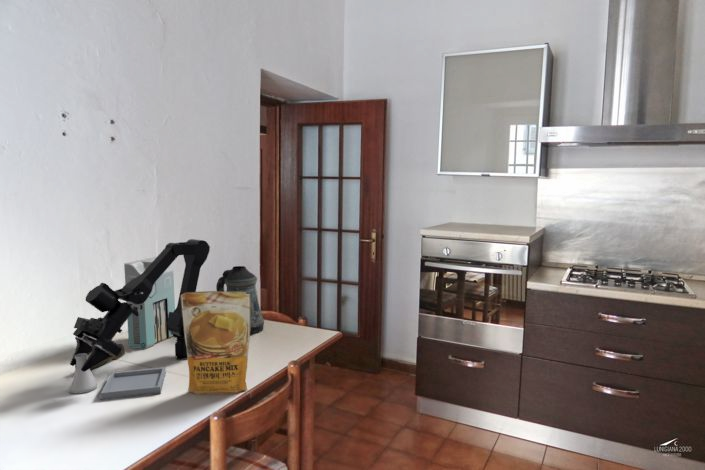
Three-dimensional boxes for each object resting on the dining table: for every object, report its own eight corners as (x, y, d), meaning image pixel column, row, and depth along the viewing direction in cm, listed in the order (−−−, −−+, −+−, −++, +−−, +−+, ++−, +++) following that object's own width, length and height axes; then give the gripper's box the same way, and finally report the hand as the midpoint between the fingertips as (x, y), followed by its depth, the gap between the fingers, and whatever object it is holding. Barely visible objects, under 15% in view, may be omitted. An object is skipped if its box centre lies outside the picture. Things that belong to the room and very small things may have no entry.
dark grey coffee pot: (259, 336, 189) (257, 271, 186) (208, 336, 189) (205, 271, 187) (267, 324, 206) (266, 263, 203) (220, 324, 206) (218, 263, 203)
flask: (76, 384, 146) (73, 351, 145) (101, 383, 147) (99, 350, 146) (64, 395, 139) (61, 360, 138) (91, 393, 140) (88, 359, 138)
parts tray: (165, 373, 154) (165, 367, 153) (160, 393, 139) (160, 386, 139) (112, 379, 150) (111, 372, 150) (101, 400, 135) (100, 393, 135)
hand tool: (84, 376, 153) (83, 361, 152) (74, 374, 154) (73, 360, 153) (131, 356, 170) (130, 342, 170) (122, 354, 172) (121, 341, 171)
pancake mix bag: (187, 385, 145) (183, 289, 142) (254, 384, 145) (251, 289, 142) (180, 395, 138) (175, 295, 135) (250, 394, 139) (247, 294, 136)
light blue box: (146, 349, 176) (142, 264, 173) (128, 347, 178) (123, 263, 175) (176, 335, 191) (173, 257, 188) (159, 333, 194) (155, 256, 190)
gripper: (77, 301, 149) (39, 347, 142) (108, 310, 137) (68, 361, 130) (106, 320, 156) (71, 365, 149) (137, 332, 145) (100, 381, 137)
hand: (76, 368), depth 141 cm, fingers open, 7 cm apart
